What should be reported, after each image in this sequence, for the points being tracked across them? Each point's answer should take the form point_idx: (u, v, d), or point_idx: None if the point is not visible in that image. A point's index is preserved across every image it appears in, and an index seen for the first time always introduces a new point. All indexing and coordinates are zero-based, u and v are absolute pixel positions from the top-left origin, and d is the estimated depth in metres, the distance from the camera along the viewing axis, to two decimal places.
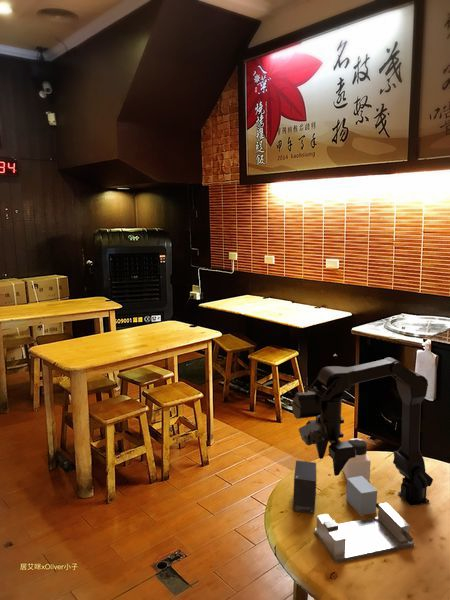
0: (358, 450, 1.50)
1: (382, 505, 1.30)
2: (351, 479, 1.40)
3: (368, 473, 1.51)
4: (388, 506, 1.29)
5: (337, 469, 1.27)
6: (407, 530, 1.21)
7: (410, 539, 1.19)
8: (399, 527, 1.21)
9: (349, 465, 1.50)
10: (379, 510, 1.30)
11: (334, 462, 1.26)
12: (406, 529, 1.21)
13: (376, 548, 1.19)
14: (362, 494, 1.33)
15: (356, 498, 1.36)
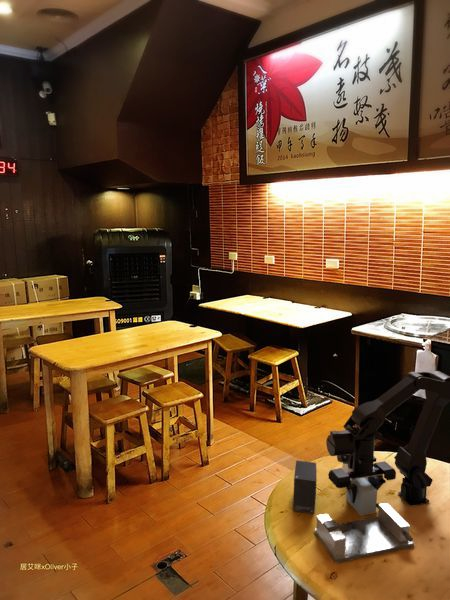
0: None
1: (382, 505, 1.30)
2: None
3: None
4: (388, 506, 1.29)
5: (349, 495, 1.37)
6: (407, 530, 1.21)
7: (410, 539, 1.19)
8: (399, 527, 1.21)
9: None
10: (379, 510, 1.30)
11: None
12: (406, 529, 1.21)
13: (376, 548, 1.19)
14: (362, 494, 1.33)
15: (356, 498, 1.36)
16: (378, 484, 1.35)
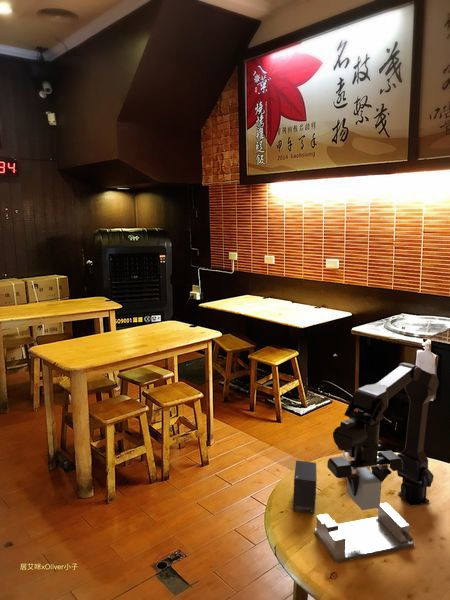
0: None
1: (382, 505, 1.30)
2: None
3: None
4: (388, 506, 1.29)
5: (351, 487, 1.23)
6: (407, 530, 1.21)
7: (410, 539, 1.19)
8: (399, 527, 1.21)
9: None
10: (379, 510, 1.30)
11: None
12: (406, 529, 1.21)
13: (376, 548, 1.19)
14: (364, 486, 1.19)
15: (358, 491, 1.22)
16: (383, 475, 1.21)
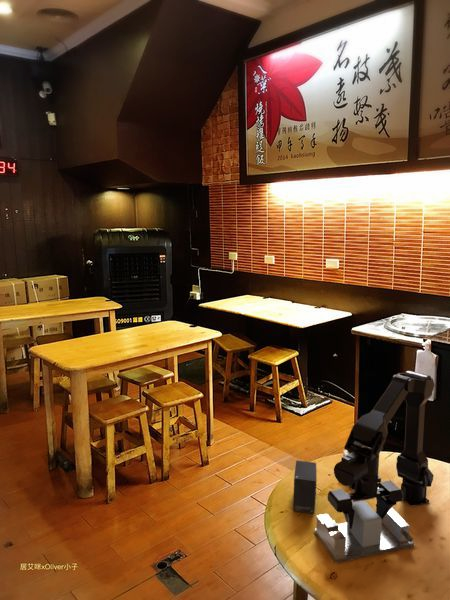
0: None
1: None
2: (353, 504, 1.26)
3: None
4: None
5: (346, 520, 1.22)
6: (407, 530, 1.21)
7: (410, 539, 1.19)
8: (399, 527, 1.21)
9: None
10: None
11: None
12: (406, 529, 1.21)
13: (376, 548, 1.19)
14: (365, 523, 1.19)
15: (358, 527, 1.22)
16: (388, 506, 1.21)
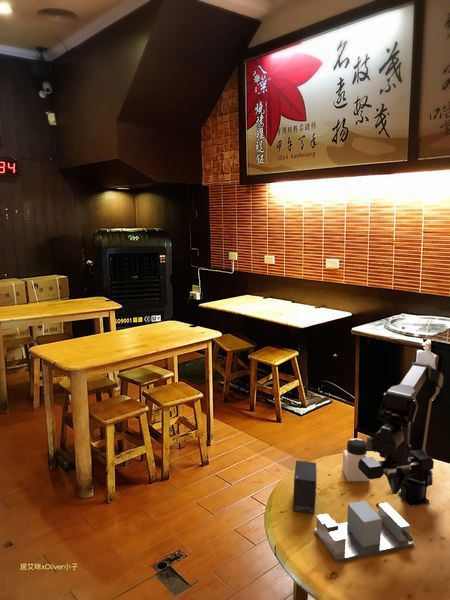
0: (358, 450, 1.50)
1: (382, 505, 1.30)
2: (353, 504, 1.26)
3: None
4: (388, 506, 1.29)
5: (390, 485, 1.24)
6: (407, 530, 1.21)
7: (410, 539, 1.19)
8: (399, 527, 1.21)
9: (349, 465, 1.50)
10: (379, 510, 1.30)
11: None
12: (406, 529, 1.21)
13: (376, 548, 1.19)
14: (365, 523, 1.19)
15: (358, 527, 1.22)
16: (405, 476, 1.21)
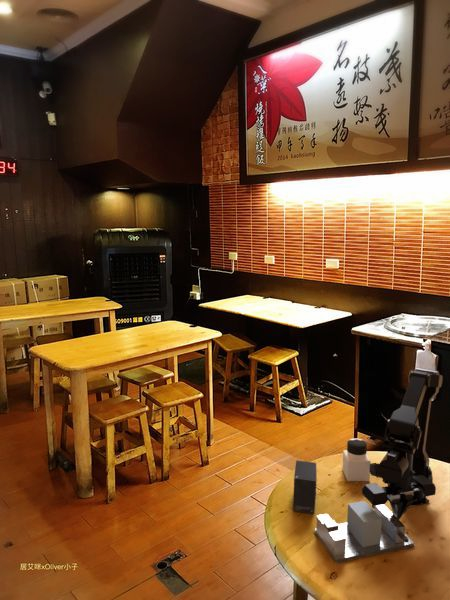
0: (358, 450, 1.50)
1: (378, 506, 1.29)
2: (353, 504, 1.26)
3: (368, 473, 1.51)
4: (384, 507, 1.29)
5: (393, 511, 1.26)
6: (403, 531, 1.21)
7: (406, 540, 1.19)
8: (395, 528, 1.21)
9: (349, 465, 1.50)
10: (375, 511, 1.30)
11: None
12: (402, 530, 1.21)
13: (376, 548, 1.19)
14: (365, 523, 1.19)
15: (358, 527, 1.22)
16: (408, 502, 1.23)
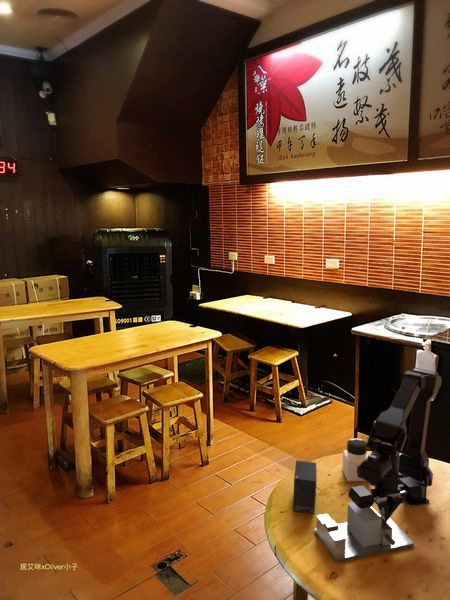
0: (358, 450, 1.50)
1: None
2: (353, 504, 1.26)
3: None
4: None
5: (381, 513, 1.25)
6: (390, 533, 1.20)
7: (393, 543, 1.18)
8: (382, 530, 1.20)
9: (349, 465, 1.50)
10: None
11: None
12: (389, 532, 1.20)
13: (376, 548, 1.19)
14: (364, 523, 1.19)
15: (358, 527, 1.22)
16: (395, 504, 1.22)
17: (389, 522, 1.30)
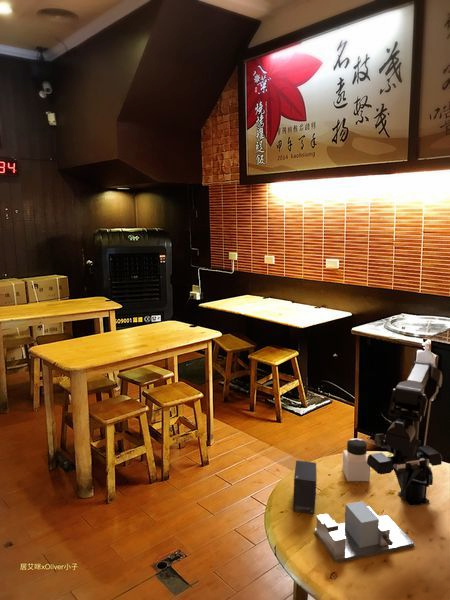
0: (358, 450, 1.50)
1: None
2: (350, 505, 1.26)
3: (368, 473, 1.51)
4: (370, 509, 1.28)
5: (399, 481, 1.25)
6: (388, 534, 1.20)
7: (390, 543, 1.18)
8: (379, 531, 1.20)
9: (349, 465, 1.50)
10: None
11: None
12: (387, 533, 1.20)
13: (376, 548, 1.19)
14: (362, 523, 1.19)
15: (356, 528, 1.21)
16: (414, 471, 1.21)
17: (389, 522, 1.30)
